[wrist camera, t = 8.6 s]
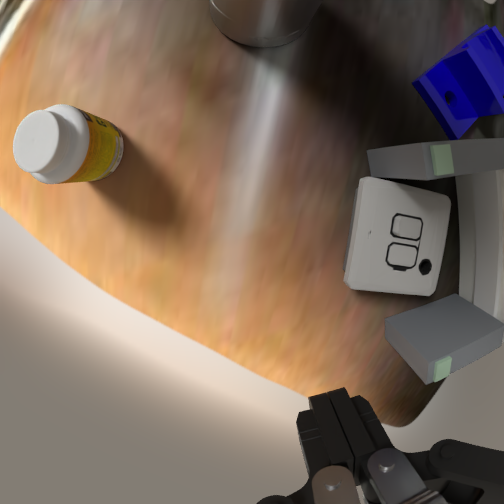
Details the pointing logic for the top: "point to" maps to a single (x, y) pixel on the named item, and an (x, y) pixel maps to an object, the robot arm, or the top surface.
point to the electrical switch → (396, 238)
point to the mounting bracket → (466, 82)
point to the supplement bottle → (67, 145)
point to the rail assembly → (471, 256)
